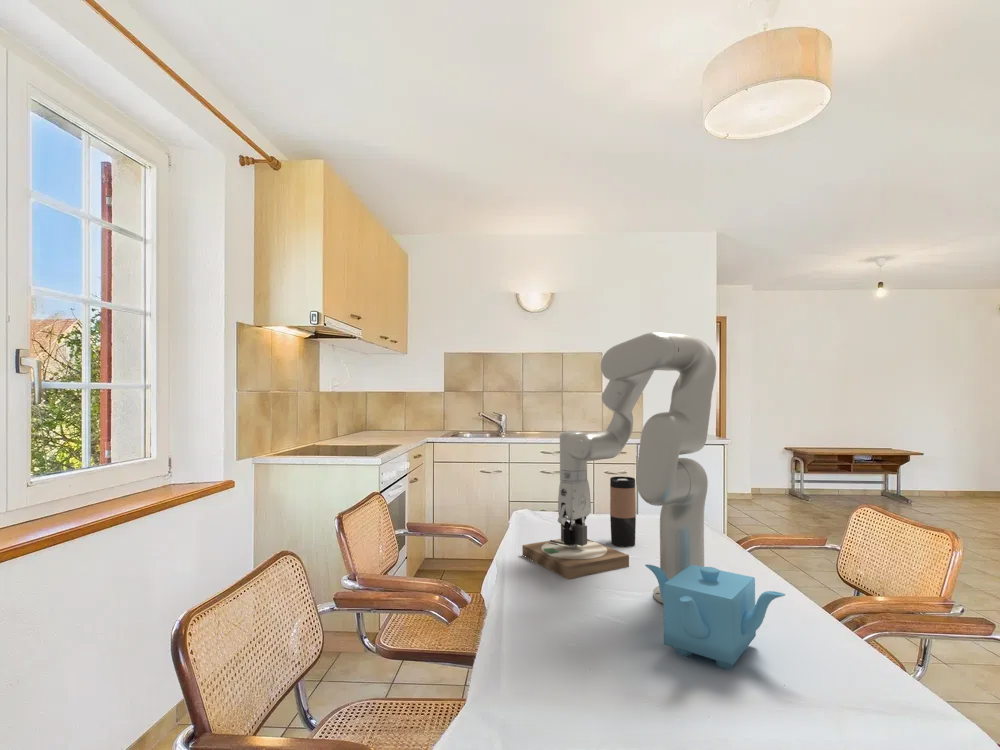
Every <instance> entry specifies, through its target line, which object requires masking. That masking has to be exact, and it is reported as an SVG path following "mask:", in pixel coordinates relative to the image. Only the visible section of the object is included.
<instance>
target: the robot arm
mask: <svg viewBox="0 0 1000 750" xmlns="http://www.w3.org/2000/svg"><path fill="white" fill-rule="evenodd" d="M600 371H601V373H602V375H603V376H604V378H605V379H606V380H609V381H608V382H607V385H606V386H605V388H604V391H603V392H602V394H601V401H602V403H603V404H604V406H605V407H607V409H608V410H610V411H611V412H612V419H611V420H610V423H609V424H608V425H607V428H606V430H603V431H591V432H584V431H581V430H566V431H562V432H561V433H560V434H559V488H558V497H557V498H558V500H557V501H558V502H557V512H558V518H557V523H559V524H560V526H561V525H562V526H563V527H562V528H563V529H564V543H565V544H569V545H574V544H575V530H573V525H574V523H575V524H581V525H586V522H585V521H586V519H587V517H589V515H590V514H591V511H592V506H591V504H592V503H591V501H592V500H591V492H590V491H591V490H590V484H589V480H588V462H592V461H599V460H608V459H613V458H616V457H618V456H619V454H620V453H621V452H622V451H623V450H624V448H625V446H626V444H628V442H629V440H630V438H631V436H632V434H633V429H634V416H633V410H634V408H635V407H636V405H637V403H638V401H639V399H640V397H641V395H642V393H643V392H644V390H645V388H646V387H647V384H648V382H649V381H650V379H651V378H652V376H653V374H654V371H667V372H668V371H676V372H678V373H679V376H678V378H677V379H676V381H675V383H674V385H673V387H672V390H671V398H670V405H669V410H668V411H665V412H659V413H656V414H654V415H651V417H649V418H648V419H647V421H646V422H645V424H644V425H643V427H642V430H641V434H640V439H639V440H640V441H639V449H638V457H637V458H638V460H637V466H636V477H635V484H636V488H637V491H638V494H639V496H640V498H642V500H643V501H644V502H646V503H647V504H649V505H652V506H657V507H659V506H661V508H660V514H659V551H660V552H659V561H660V563H659V568H661V569H662V570H663V571H664V573H665V574H666V576H667V578H668V580H670V579H671V578H673V577H674V576H675V575H677V574H678V573H680V572H681V571H683V570H684V569H686V568H687V567H689V566H690V565H696V566H701V567H705V506H706V499H707V493H708V486H709V485H708V483H709V481H708V476H707V472H706V470H705V468H704V467H703V466H702V465H701V464H700V463H699V462H698V461H696V460H695V459H692V458H688V457H679V456H681V455H682V456H683V455H689V454H694V453H697V452H700V451H701V450H702V449H703V448H704V447H705V445H706V443H707V437H708V431H709V425H710V424H709V422H710V417H711V415H710V414H711V408H712V397H713V390H714V386H715V385H714V384H715V380H716V375H717V374H716V373H717V362H716V356H715V354H714V352H713V350H712V349H711V347H710V346H709V345H708V344H707V343H706V342H704V341H703V340H701V339H700V338H698V337H696V336H693V335H689V334H683V333H671V332H661V331H660V332H658V331H655V332H648V333H644V334H641V335H639V336H636V337H634V338H631V339H628V340H625V341H623V342H621V343H618V344H615V345H613V346H612V347H610V348H609V349H608V350H606V352H605V353H604V354H603V356H602V358H601V361H600ZM568 522H570V524H569V523H568ZM652 595H653V598H654V599H655V600H656V601H657V602H659V603H661V604H663V600H662V596H661V592H660V587H659V585H658V586H656V587H654V589H653V593H652Z"/></svg>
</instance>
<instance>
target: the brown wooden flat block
mask: <svg viewBox="0 0 1000 750" xmlns="http://www.w3.org/2000/svg"><path fill="white" fill-rule="evenodd" d="M553 540H554V541H559V542H562V541H561V538H558V539H557V538H556V539H553ZM563 543H564V542H563ZM523 555H524V556H526V557H527V558H526V557H525V558H526V559H528V558H529V560H530V559H531V560H530V561H532V560H533V561H532V562H534V563H536V564H538V565H540V566H542V567H543V568H546V569H548V570H549V571H552V572H553V573H555V574H557V575H559V576H561V577H563V578H565V579H566V580H571V579H575V578H581V577H585V576H591V575H595V574H599V573H604V572H608V571H614V570H619V569H623V568H629V567H630V555H629V554H627V553H624V552H622V551H619V550H616V549H614V548H612V547H609V546H606V545H604V544H601V543H599V542H595V541H593V540H591V539H588V538H587V544H586V545H584V546H580V545H578V547H577V548H571V547H570V546H567V545H563V544H558V543H554V542H550V540H547V541H540V542H539V541H538V542H534V543H527V544H523V545H522V556H523ZM524 556H523V557H524Z"/></svg>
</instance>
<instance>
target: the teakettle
mask: <svg viewBox="0 0 1000 750" xmlns="http://www.w3.org/2000/svg"><path fill="white" fill-rule="evenodd" d="M644 566H645V567H646V568H647V569H649V570H650V571H651V572H652V573H653V574H654V576H655V578H656V579H657V583H658V586H659V587H660V592H661V596H662V600H663V603H662V605H663V644H664V645H666V646H668V647H672V648H674V649H675V653H677V655H681V656H685V657H686V656H692V655H693V654H694V655H698V656H702V657H704V658H707V659H711V660H714V661H715V664H716V665H717V666H718V667H720V668H722V669H729V670H731V669H733V668H735V664H736V662H737V661H738V660H739V659H740V657H741V656H742V655H743V653H745V652H747V648H748V647H749V645H750V644H751V643H752V642H753V640H754V639H755V638H756V635H757V631H758V629H759V628H760V627H761V626H762V624H763V622H764V619H765V617H766V613H767V610H768V608H769V605H770V604H771V602H772V601H773V600H776V599H777V598H782V597H785V596H786V594H785V593H783V592H779V591H775V590H766V591H763V592H762V593H761V594H760V595H759V596H758V598H757V599H756V577H754V576H750V575H745V574H740V573H734V572H730V571H726V570H720V569H719V568H717V567H712V566H704V567H701V566H696V565H690V566H689V567H687V568H686V569H684V570H683V571H681V572H680V573H678V574H677V575H675V576H674V577H673V578H671V579H670V580H668V578H667V576H666V574H665V573H664V571H663V570H662V569H661V568H660V566H657V565H653V564H645V565H644ZM756 600H757V601H756Z"/></svg>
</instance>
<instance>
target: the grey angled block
mask: <svg viewBox="0 0 1000 750" xmlns="http://www.w3.org/2000/svg"><path fill="white" fill-rule="evenodd" d="M568 523H569V524H570V521H568ZM562 527H563V526H562V525H561V524H560V539H561V541H562V542H559V541H554V540H555V539H550V540H549V541H550V542H554V543H558V544H563V545H567V546H570V547H571V548H577V547H578V545H580V546H584V545H586V544H587V539H588V525H586V524H585V525H581V524H575V523H574V525H573V530H575V544H574V545H569V544H565V543H563V542H564V529H563V528H562Z"/></svg>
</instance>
